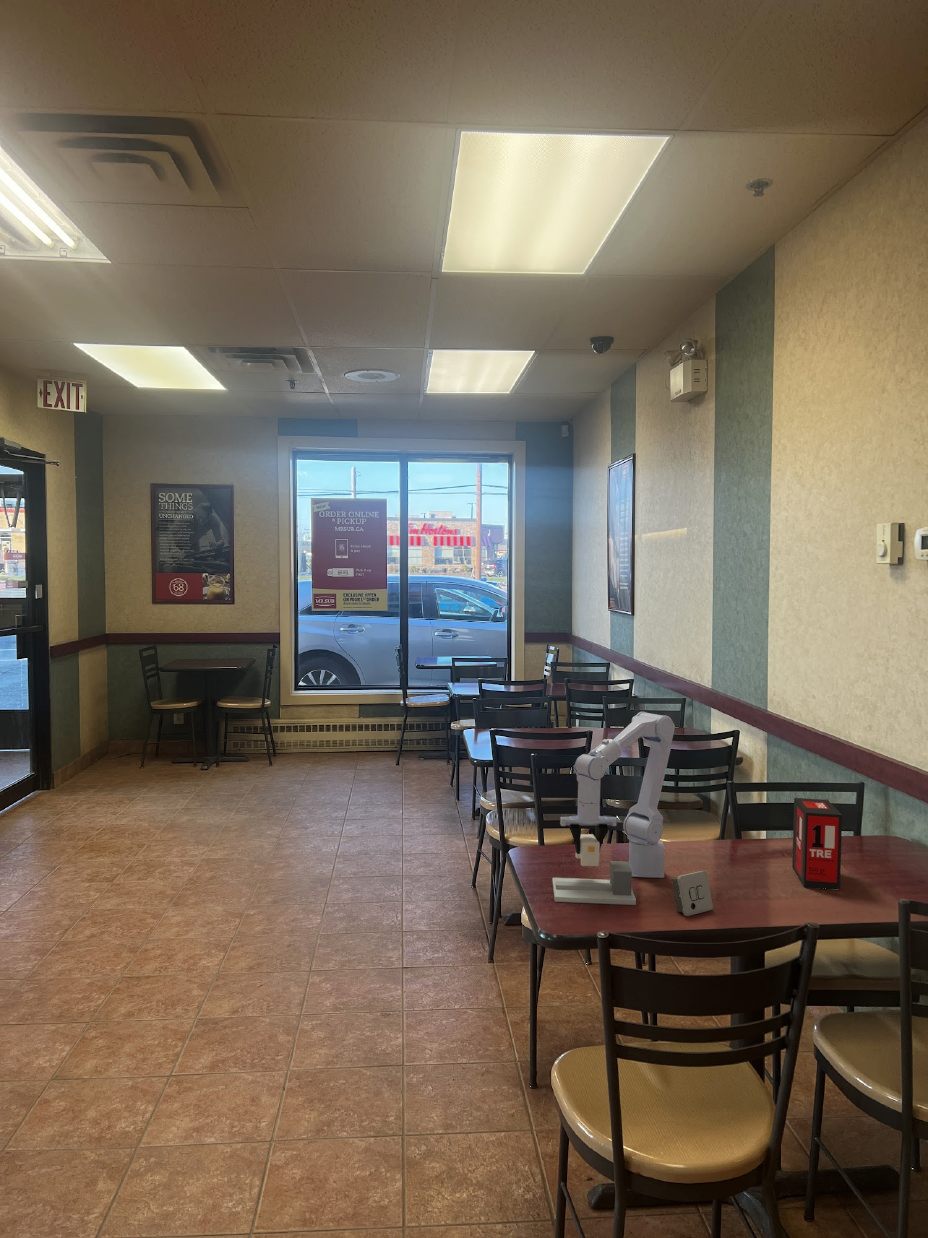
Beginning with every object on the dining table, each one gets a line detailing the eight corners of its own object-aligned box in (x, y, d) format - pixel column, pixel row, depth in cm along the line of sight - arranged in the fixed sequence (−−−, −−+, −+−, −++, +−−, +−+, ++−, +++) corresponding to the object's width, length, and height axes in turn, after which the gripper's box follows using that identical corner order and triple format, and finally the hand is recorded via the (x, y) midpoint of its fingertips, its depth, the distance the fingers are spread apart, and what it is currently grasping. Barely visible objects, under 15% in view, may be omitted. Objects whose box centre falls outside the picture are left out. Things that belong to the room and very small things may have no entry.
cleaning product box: (839, 890, 216) (842, 815, 215) (803, 887, 218) (806, 812, 217) (825, 870, 232) (827, 799, 232) (792, 867, 234) (794, 797, 233)
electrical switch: (686, 918, 196) (684, 878, 196) (670, 912, 200) (668, 874, 201) (713, 911, 201) (712, 872, 201) (697, 905, 205) (696, 868, 206)
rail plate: (628, 885, 217) (629, 858, 217) (635, 905, 203) (636, 876, 203) (552, 882, 219) (552, 855, 218) (554, 901, 205) (555, 873, 204)
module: (592, 856, 220) (592, 834, 220) (599, 867, 211) (600, 843, 211) (575, 856, 219) (575, 834, 219) (582, 867, 211) (583, 843, 211)
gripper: (612, 797, 219) (611, 848, 220) (558, 797, 218) (557, 848, 219) (619, 804, 212) (617, 856, 213) (563, 804, 211) (562, 856, 212)
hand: (587, 852), depth 215 cm, fingers closed on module, 4 cm apart
